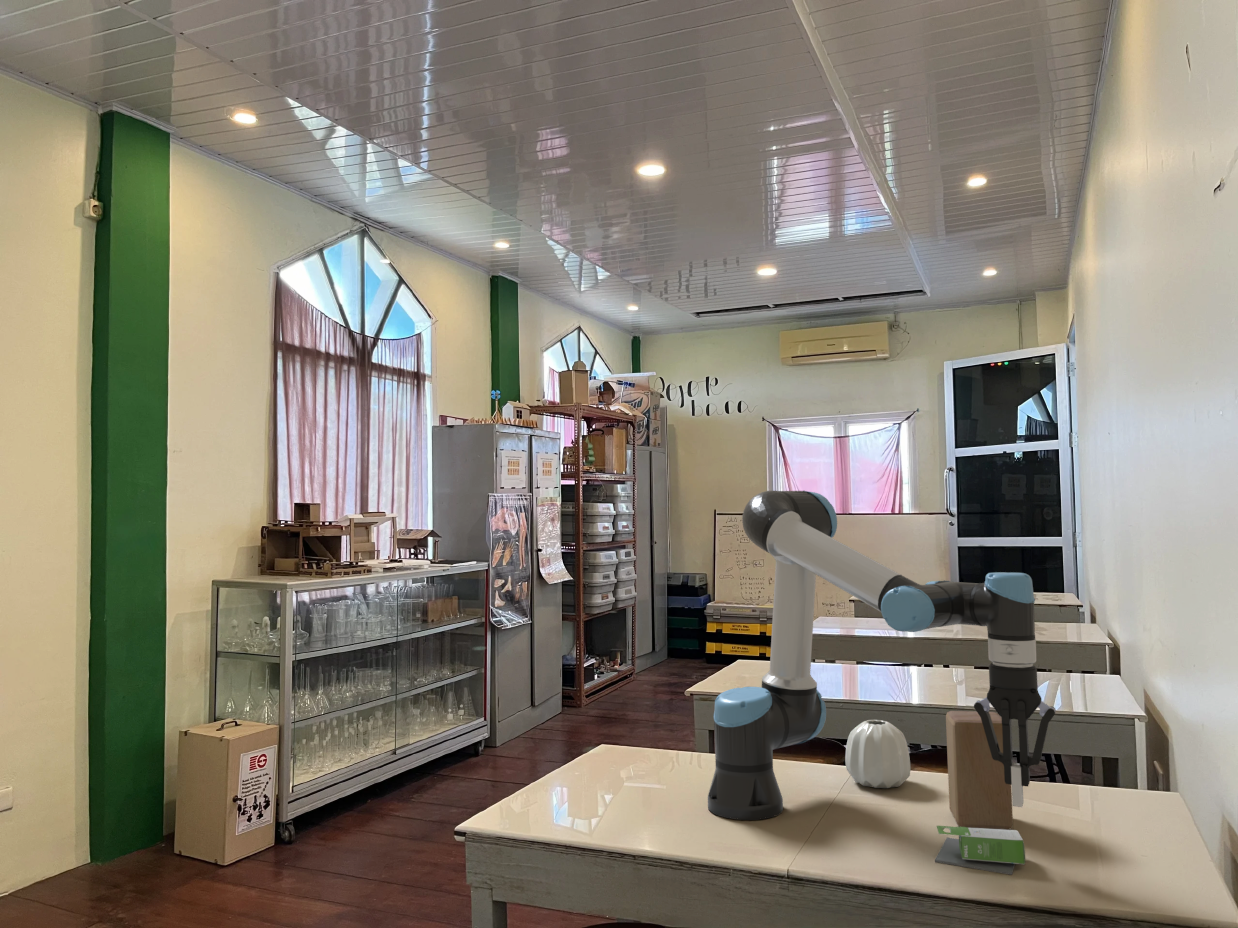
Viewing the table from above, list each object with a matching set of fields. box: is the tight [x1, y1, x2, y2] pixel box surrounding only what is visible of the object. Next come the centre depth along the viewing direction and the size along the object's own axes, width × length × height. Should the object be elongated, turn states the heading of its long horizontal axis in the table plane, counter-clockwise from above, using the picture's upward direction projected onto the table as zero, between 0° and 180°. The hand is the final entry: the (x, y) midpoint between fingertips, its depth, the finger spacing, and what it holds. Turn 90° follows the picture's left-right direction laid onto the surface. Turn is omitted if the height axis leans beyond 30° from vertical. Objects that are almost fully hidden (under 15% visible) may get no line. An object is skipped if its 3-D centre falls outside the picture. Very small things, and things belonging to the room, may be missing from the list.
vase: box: [844, 719, 911, 789], centre depth 196 cm, size 14×14×13 cm
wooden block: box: [945, 710, 1014, 830], centre depth 171 cm, size 10×10×20 cm
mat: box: [934, 836, 1016, 876], centre depth 153 cm, size 12×12×1 cm
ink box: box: [936, 825, 1026, 865], centre depth 151 cm, size 7×4×13 cm
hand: (1018, 804), depth 150 cm, fingers closed
